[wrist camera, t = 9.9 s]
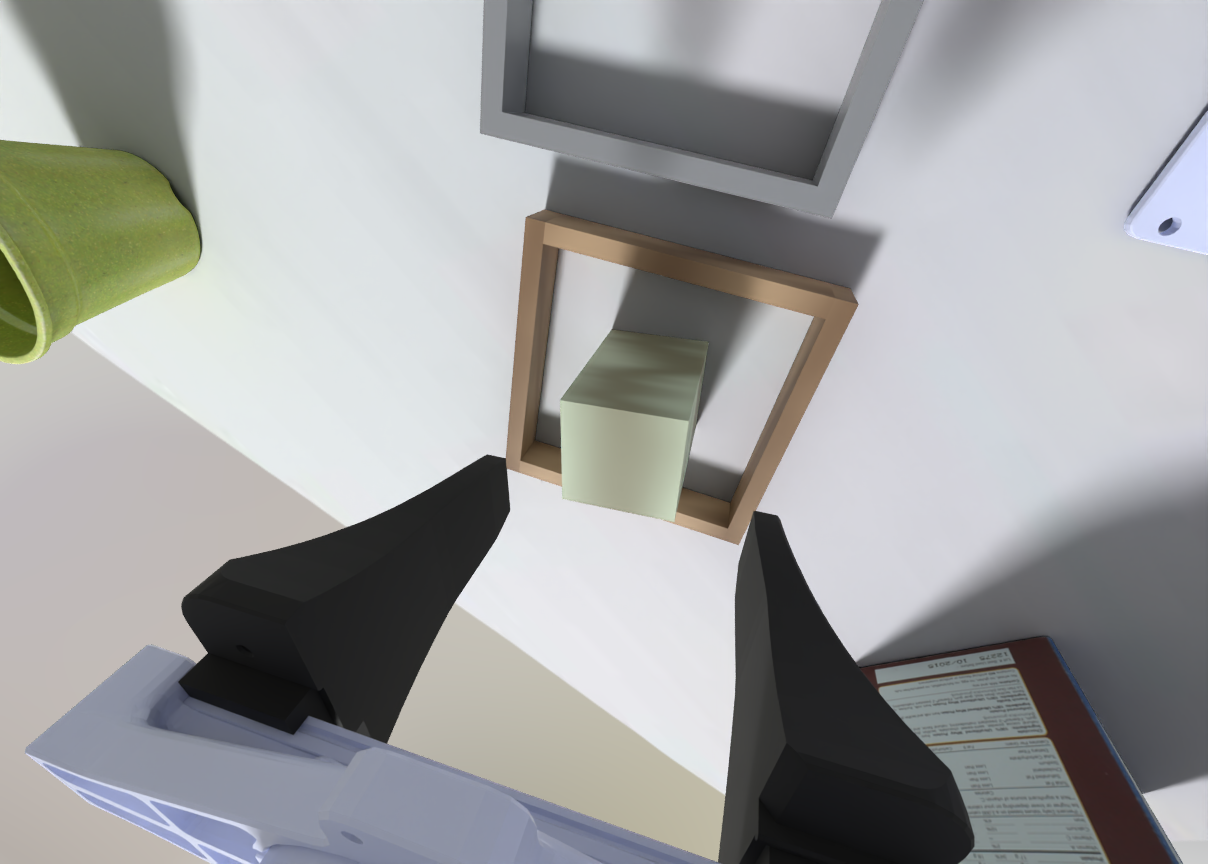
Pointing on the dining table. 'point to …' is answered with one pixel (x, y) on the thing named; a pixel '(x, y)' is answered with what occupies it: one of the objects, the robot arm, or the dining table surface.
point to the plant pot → (81, 239)
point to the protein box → (1025, 756)
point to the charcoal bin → (820, 196)
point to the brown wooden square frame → (696, 268)
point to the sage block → (632, 423)
